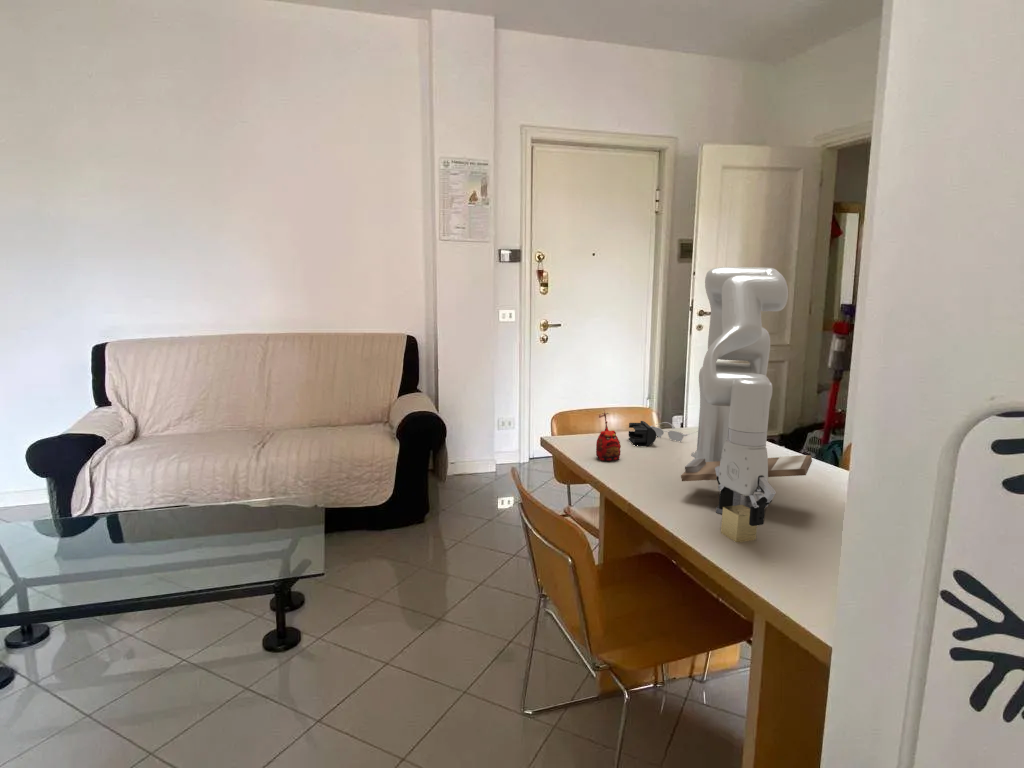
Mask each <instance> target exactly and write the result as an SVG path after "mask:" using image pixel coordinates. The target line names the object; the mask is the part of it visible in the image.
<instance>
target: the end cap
mask: <svg viewBox="0 0 1024 768" xmlns="http://www.w3.org/2000/svg"><path fill="white" fill-rule="evenodd" d="M650 426H651V425H649V424H648V423H647V422H646V421H644V420H640V422H628V428H629V429H633V430H632V431H631V430H628V441H629V440H630V441H631V442H632V443H633V444H632V443H631V442H630V441H629V442H630V443H631V444H632V445H635V446H637V445H638V446H647V447H649V446H651V445H653V444H654V443H655V441H656V440H657V437H656V432H655V431H654V429H653V428H651V427H650ZM635 446H634V447H635Z"/></svg>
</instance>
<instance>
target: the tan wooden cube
mask: <svg viewBox="0 0 1024 768" xmlns="http://www.w3.org/2000/svg"><path fill="white" fill-rule="evenodd" d="M749 518H750V508H748V507H746V506H744V505H735V506H726V507H723V513H722V514H721V527H720V534H722V535H723V536H725V537H727V539H729V540H732V541H733V542H734V541H735V542H734V543H736V542H737V543H742V542H743V543H744V542H750V541H755V540H756V541H757V531H758V525H757V526H751V525H749Z"/></svg>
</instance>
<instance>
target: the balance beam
mask: <svg viewBox="0 0 1024 768" xmlns="http://www.w3.org/2000/svg"><path fill="white" fill-rule="evenodd" d="M812 458H813V457H812V455H811V454H810V455H807V454H805V455H787V456H778V457H768V478H777V477H778V478H779V477H797V476H798V477H799V476H801V477H802V476H807V474H808V471H809V469H810V467H811V465H812V463H813V459H812ZM717 466H720V461H715V462H705V459H695V458H694V459H692V460H691V461H690V462H689V463H687V464H686V465H684V472H683V473H682V474H680V478H681V482H694V481H695V482H696V481H717V479H716V478H717V476H716V471H715V467H717Z"/></svg>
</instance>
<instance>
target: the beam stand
mask: <svg viewBox="0 0 1024 768" xmlns="http://www.w3.org/2000/svg"><path fill="white" fill-rule="evenodd" d="M756 498H757V501H758V500H759V496H756ZM735 505H744V506H746V507H748V508H751V506H753V504H752V502H751V499H750V497H749V496H744V495H741V494H739V493H737V492H735V491H734V495H733V506H735ZM715 513H716V514H720V515H722V513H723V509H719V504H718V505H717V506H716V508H715Z"/></svg>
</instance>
